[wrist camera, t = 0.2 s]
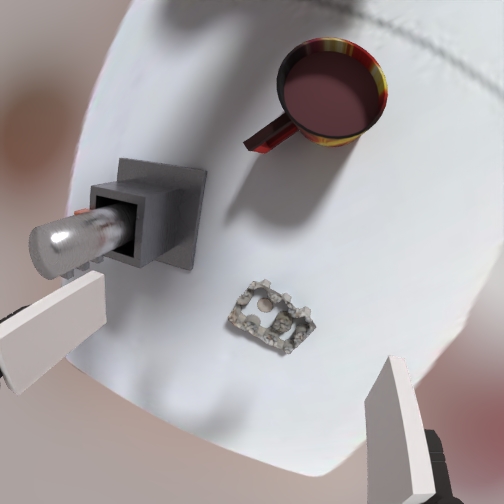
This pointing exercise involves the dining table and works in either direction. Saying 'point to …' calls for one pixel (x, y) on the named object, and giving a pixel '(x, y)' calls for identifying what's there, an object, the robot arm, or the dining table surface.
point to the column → (81, 239)
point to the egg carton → (281, 322)
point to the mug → (325, 95)
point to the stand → (156, 211)
